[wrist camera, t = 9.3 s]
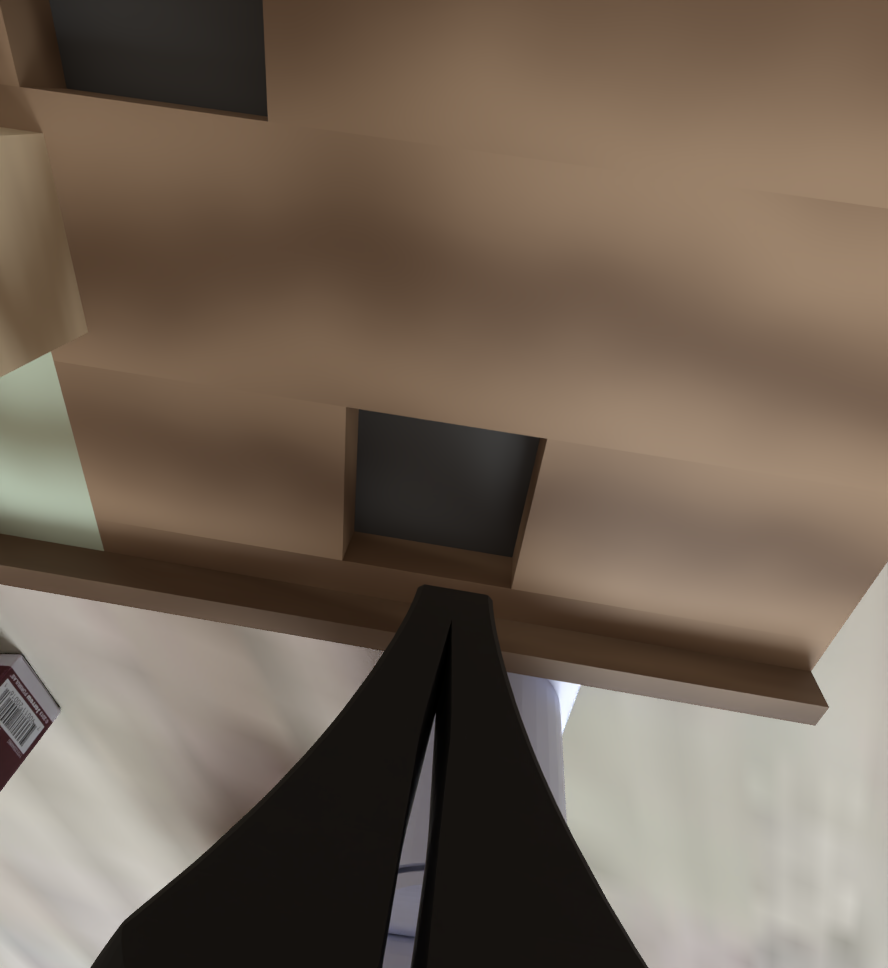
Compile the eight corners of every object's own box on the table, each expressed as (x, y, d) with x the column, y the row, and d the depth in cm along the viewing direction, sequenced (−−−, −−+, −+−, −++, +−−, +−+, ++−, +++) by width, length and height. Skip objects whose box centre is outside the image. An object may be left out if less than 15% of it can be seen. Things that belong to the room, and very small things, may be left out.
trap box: (778, 646, 23) (815, 725, 20) (-2, 515, 24) (-75, 571, 21) (1384, -315, 10) (1742, -492, 7) (-387, -500, 11) (-714, -716, 8)
